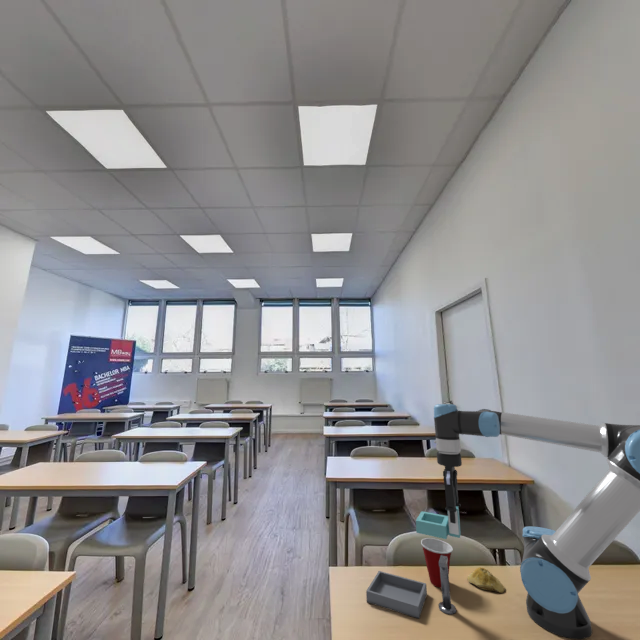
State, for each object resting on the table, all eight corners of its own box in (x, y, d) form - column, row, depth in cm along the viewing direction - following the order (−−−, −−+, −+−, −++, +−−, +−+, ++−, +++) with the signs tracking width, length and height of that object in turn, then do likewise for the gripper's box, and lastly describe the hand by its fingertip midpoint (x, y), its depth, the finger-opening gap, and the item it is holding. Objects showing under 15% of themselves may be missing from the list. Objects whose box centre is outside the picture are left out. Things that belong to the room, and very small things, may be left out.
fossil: (501, 563, 109) (493, 575, 101) (508, 583, 106) (501, 598, 99) (470, 561, 115) (461, 572, 108) (476, 580, 113) (467, 593, 106)
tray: (426, 594, 101) (426, 583, 102) (419, 618, 90) (418, 606, 91) (379, 580, 109) (378, 570, 109) (366, 602, 98) (366, 590, 98)
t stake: (456, 606, 95) (452, 557, 98) (455, 616, 91) (450, 565, 94) (439, 601, 98) (435, 553, 101) (437, 611, 93) (433, 561, 96)
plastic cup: (461, 593, 102) (457, 551, 105) (428, 592, 102) (425, 550, 105) (449, 574, 112) (446, 537, 115) (419, 573, 113) (417, 536, 116)
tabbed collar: (461, 530, 100) (459, 503, 102) (458, 542, 93) (456, 512, 94) (422, 522, 106) (420, 496, 108) (416, 532, 98) (414, 504, 100)
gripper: (440, 447, 111) (445, 519, 106) (432, 455, 98) (438, 538, 92) (462, 449, 108) (469, 524, 102) (458, 457, 94) (465, 545, 89)
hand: (454, 531), depth 97 cm, fingers closed on tabbed collar, 3 cm apart
